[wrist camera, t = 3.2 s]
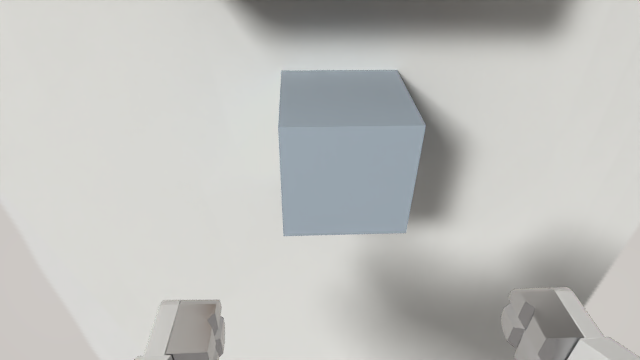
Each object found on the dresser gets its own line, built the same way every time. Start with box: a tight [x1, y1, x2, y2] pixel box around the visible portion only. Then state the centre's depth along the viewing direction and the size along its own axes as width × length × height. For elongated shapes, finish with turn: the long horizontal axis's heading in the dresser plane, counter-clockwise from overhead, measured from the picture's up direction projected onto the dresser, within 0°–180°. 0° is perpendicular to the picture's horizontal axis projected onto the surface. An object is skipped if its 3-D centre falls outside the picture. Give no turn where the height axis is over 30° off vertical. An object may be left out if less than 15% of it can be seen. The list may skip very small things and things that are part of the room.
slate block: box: [278, 70, 426, 236], centre depth 18 cm, size 5×5×5 cm
